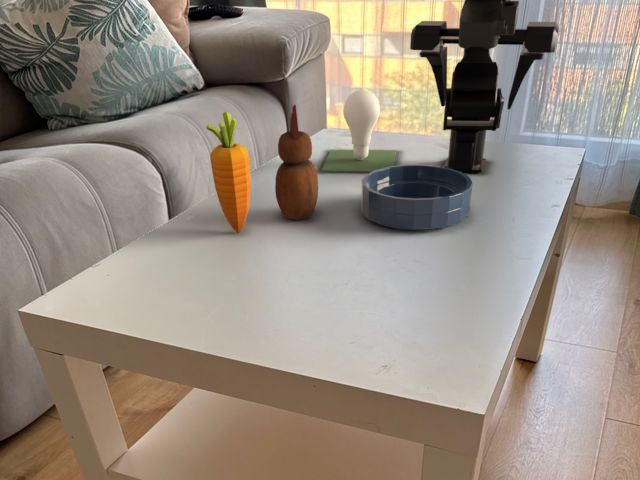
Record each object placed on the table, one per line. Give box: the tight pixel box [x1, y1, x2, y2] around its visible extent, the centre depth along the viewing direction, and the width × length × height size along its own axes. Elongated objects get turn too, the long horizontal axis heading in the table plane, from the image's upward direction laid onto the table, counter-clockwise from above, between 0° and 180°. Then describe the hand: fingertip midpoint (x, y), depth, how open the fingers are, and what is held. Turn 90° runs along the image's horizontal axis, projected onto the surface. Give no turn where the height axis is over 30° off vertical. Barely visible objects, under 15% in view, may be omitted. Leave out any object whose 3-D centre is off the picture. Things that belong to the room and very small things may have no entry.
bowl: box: [360, 163, 473, 230], centre depth 90 cm, size 15×15×4 cm
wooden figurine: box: [274, 104, 319, 221], centre depth 87 cm, size 7×6×15 cm
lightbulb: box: [342, 89, 381, 160], centre depth 107 cm, size 6×6×11 cm
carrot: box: [205, 111, 252, 234], centre depth 83 cm, size 5×5×15 cm
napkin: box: [321, 149, 397, 174], centre depth 111 cm, size 12×12×1 cm
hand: (475, 107), depth 90 cm, fingers open, 9 cm apart
